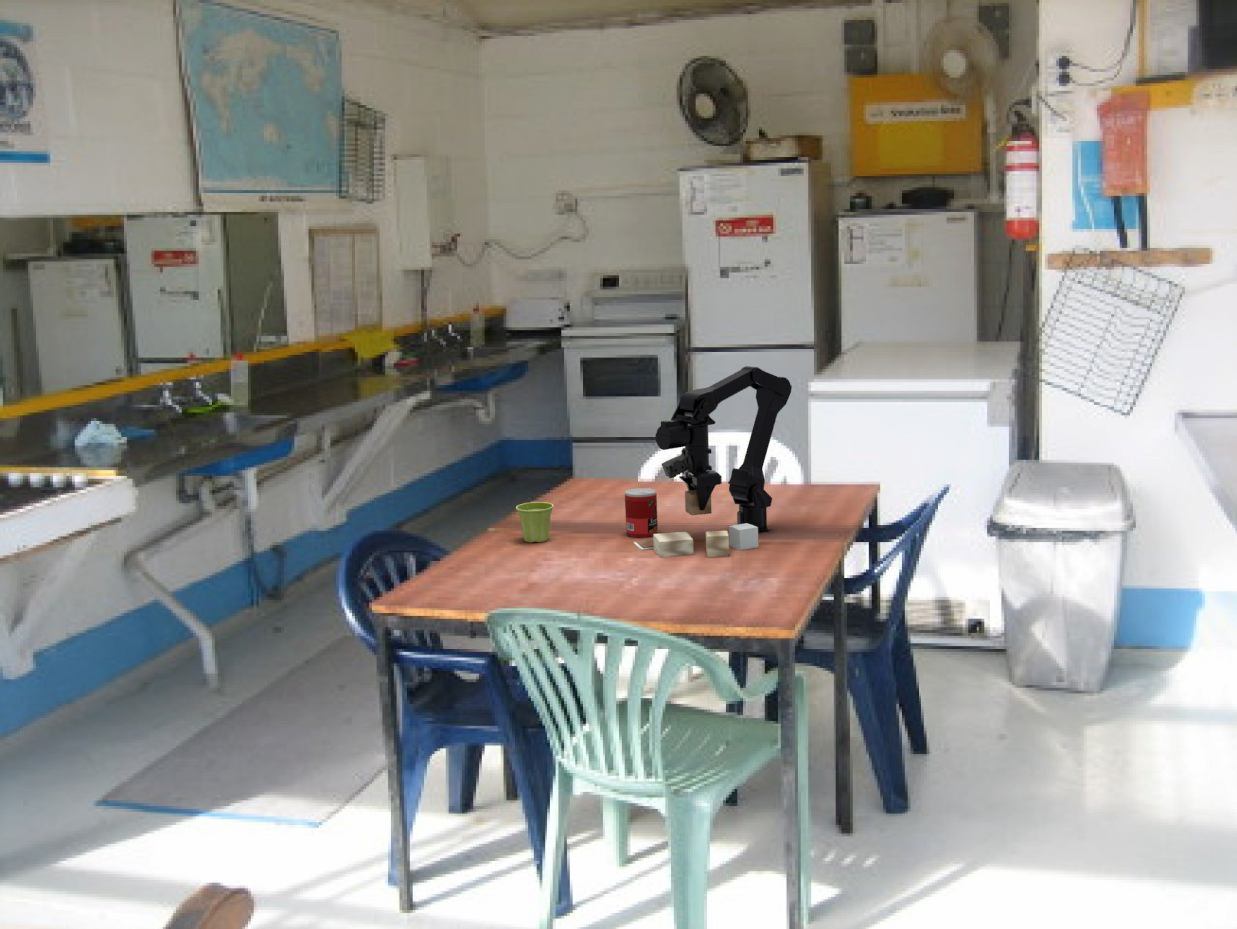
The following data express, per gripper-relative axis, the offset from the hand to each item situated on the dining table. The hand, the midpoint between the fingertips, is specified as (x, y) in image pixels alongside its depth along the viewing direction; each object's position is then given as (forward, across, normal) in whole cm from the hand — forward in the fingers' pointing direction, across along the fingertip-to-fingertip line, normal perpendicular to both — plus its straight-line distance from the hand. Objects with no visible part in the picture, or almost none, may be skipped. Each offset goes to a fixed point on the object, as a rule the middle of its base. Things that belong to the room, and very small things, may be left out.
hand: (698, 507), depth 322 cm
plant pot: (+9, -18, -37) cm, 42 cm away
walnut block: (+1, 0, 0) cm, 1 cm away
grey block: (+8, +9, +8) cm, 15 cm away
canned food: (+9, -13, -11) cm, 19 cm away
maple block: (+8, +13, 0) cm, 15 cm away
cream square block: (+9, +7, -9) cm, 14 cm away
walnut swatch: (+8, -1, -12) cm, 15 cm away
